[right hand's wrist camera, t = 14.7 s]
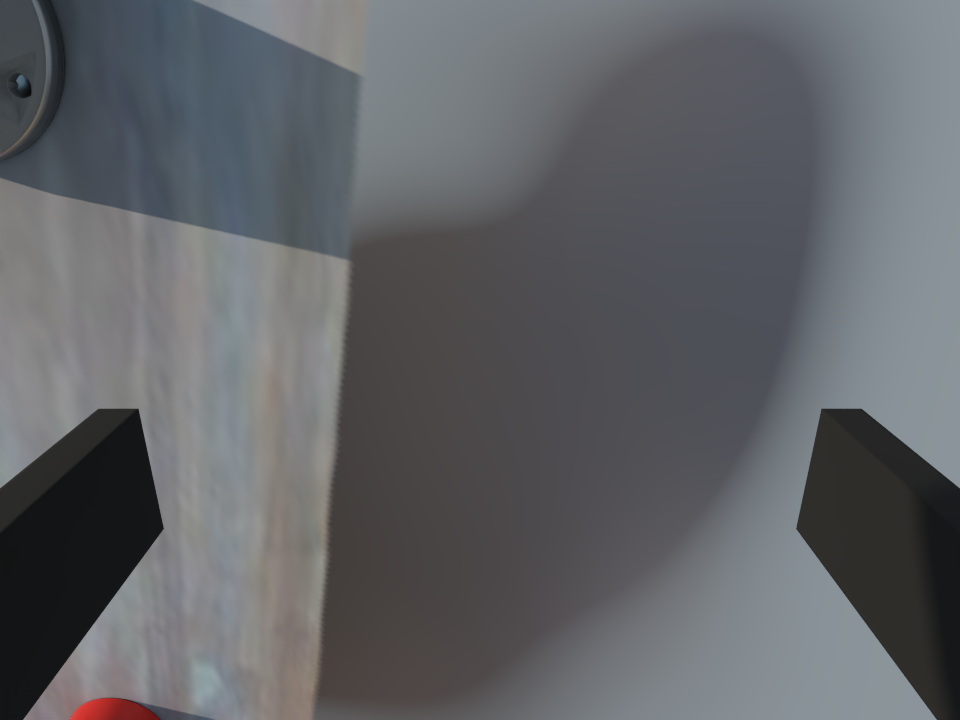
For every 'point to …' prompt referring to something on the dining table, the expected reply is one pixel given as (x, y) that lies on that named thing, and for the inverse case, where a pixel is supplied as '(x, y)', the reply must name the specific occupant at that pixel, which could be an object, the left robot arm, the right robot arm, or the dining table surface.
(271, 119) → the dining table surface
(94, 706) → the canister
